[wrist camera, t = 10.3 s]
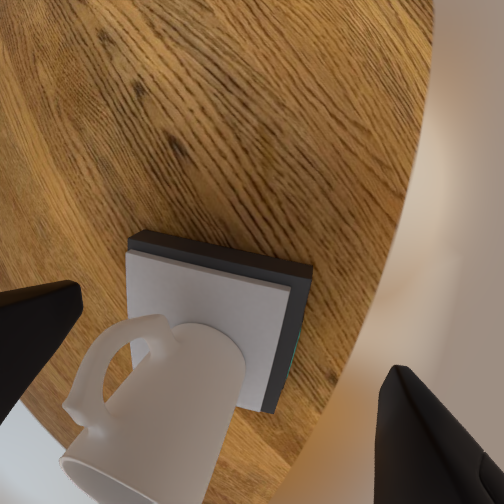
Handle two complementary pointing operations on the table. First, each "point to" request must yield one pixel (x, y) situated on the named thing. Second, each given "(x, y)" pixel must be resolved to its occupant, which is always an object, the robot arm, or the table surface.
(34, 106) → the table surface
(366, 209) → the table surface
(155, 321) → the mug
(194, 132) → the table surface
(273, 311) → the scale
